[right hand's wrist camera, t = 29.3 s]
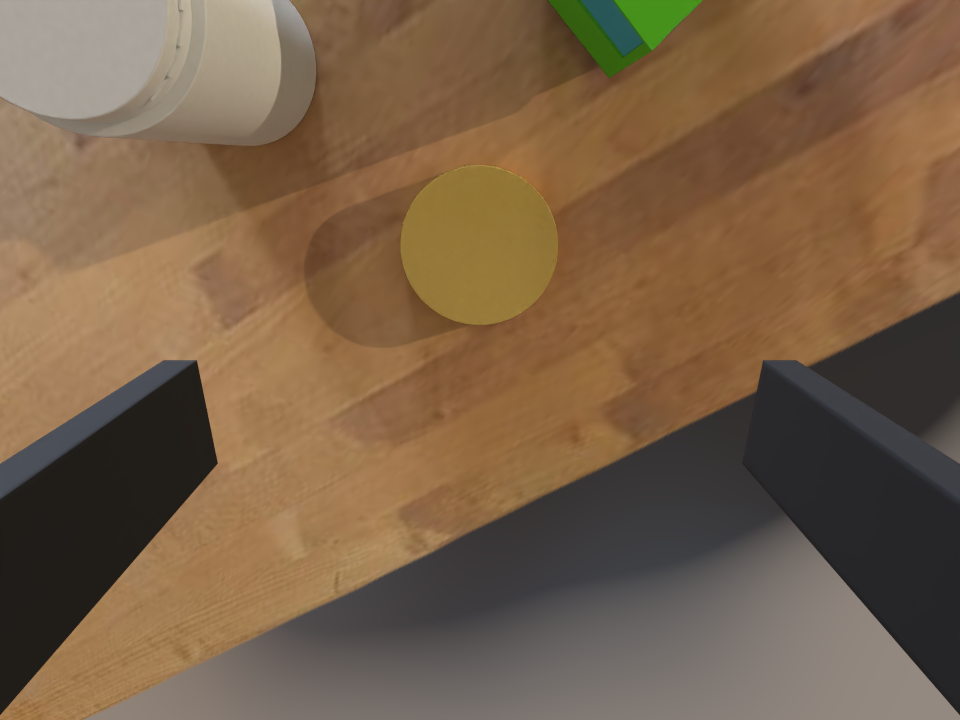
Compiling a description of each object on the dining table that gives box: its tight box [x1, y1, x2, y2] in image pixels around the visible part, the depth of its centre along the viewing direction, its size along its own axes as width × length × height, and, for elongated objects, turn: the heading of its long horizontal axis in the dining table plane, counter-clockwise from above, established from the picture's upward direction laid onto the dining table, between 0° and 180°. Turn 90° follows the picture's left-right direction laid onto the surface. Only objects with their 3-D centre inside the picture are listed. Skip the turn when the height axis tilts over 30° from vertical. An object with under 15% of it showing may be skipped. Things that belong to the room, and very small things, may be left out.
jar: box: [0, 0, 316, 146], centre depth 26 cm, size 10×10×16 cm
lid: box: [400, 165, 558, 325], centre depth 37 cm, size 11×11×2 cm
